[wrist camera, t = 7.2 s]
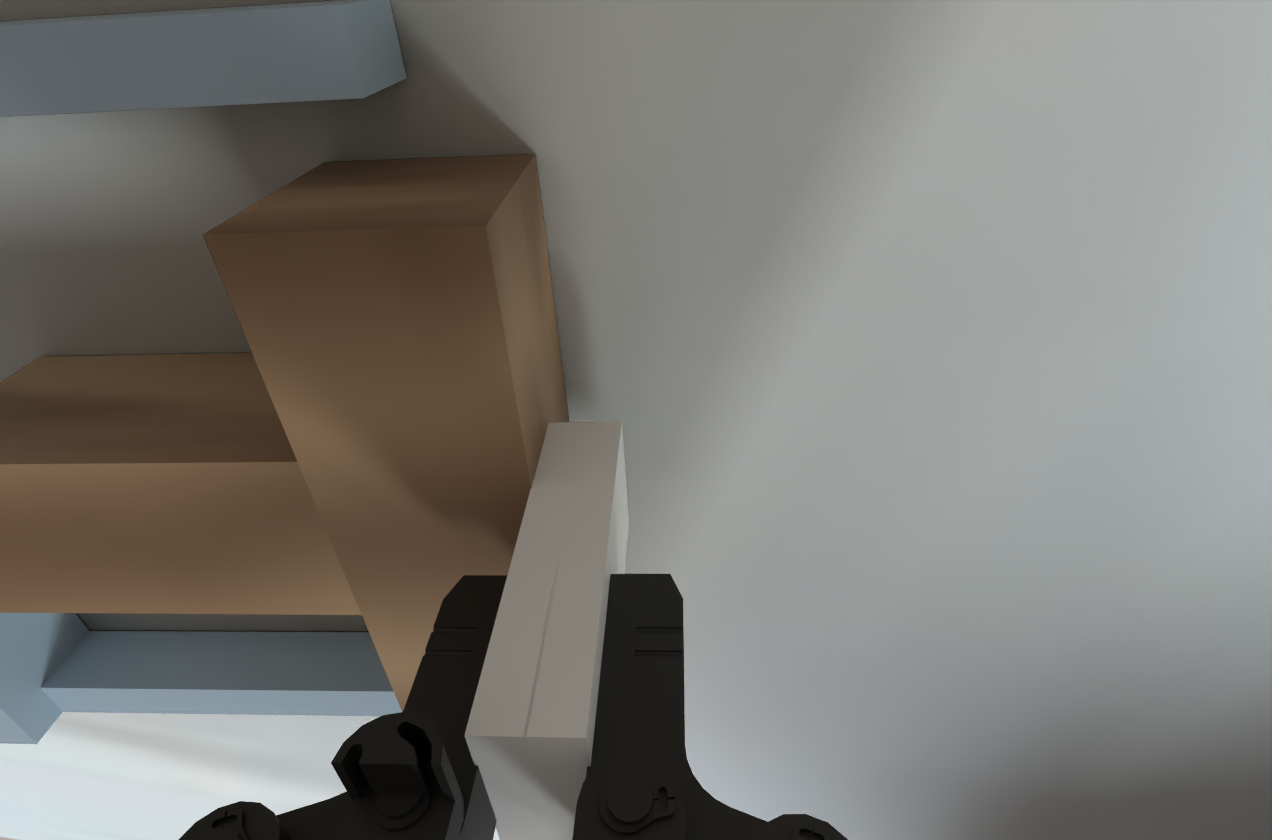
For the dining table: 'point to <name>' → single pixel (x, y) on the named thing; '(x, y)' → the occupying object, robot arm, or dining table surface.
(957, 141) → the dining table surface
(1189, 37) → the dining table surface
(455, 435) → the t block
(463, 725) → the robot arm
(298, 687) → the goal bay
